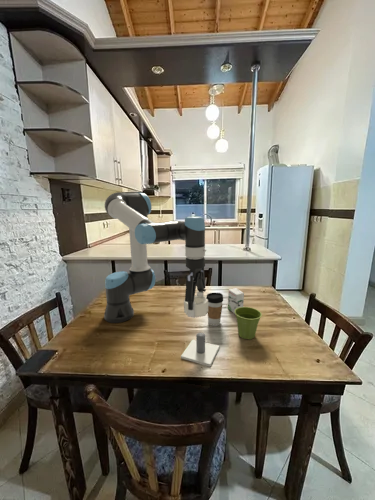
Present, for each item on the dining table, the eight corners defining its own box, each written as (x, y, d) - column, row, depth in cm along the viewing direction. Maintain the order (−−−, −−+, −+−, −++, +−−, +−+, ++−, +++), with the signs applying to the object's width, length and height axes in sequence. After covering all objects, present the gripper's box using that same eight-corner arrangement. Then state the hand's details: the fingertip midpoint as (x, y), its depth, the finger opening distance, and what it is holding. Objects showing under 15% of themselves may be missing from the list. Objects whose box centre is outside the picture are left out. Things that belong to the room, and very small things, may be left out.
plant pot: (256, 346, 97) (257, 321, 95) (229, 337, 103) (230, 314, 101) (263, 332, 107) (264, 310, 105) (238, 325, 113) (239, 304, 111)
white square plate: (181, 358, 90) (180, 339, 89) (192, 341, 101) (192, 324, 99) (210, 366, 86) (210, 347, 84) (219, 348, 96) (219, 330, 95)
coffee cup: (222, 327, 112) (222, 298, 108) (204, 326, 113) (205, 297, 110) (223, 319, 120) (223, 292, 117) (206, 317, 121) (207, 290, 118)
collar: (181, 314, 91) (181, 302, 90) (190, 305, 99) (189, 294, 98) (203, 318, 87) (202, 306, 87) (210, 309, 96) (210, 297, 95)
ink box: (227, 308, 132) (227, 288, 129) (234, 306, 134) (235, 287, 131) (235, 314, 124) (236, 294, 122) (243, 313, 126) (244, 292, 124)
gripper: (194, 264, 78) (195, 326, 82) (212, 252, 97) (213, 302, 102) (174, 262, 81) (176, 322, 85) (196, 251, 100) (197, 299, 105)
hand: (196, 311), depth 93 cm, fingers closed on collar, 9 cm apart
